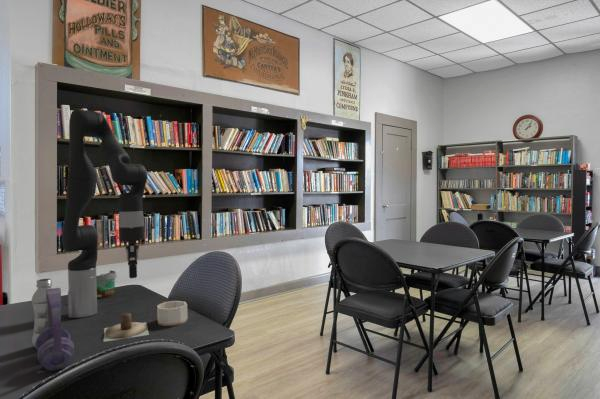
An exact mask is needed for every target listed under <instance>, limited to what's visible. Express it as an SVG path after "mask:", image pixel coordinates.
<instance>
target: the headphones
mask: <svg viewBox="0 0 600 399" xmlns="http://www.w3.org/2000/svg"><path fill="white" fill-rule="evenodd" d="M46 295H47V304H48V329H46V330H44V331H43V332H42V333H41V334H40V335H39V336H38V338H37V340H36V348H35V349H36V351H37V355H36V356H37V359H38V362H39V364H40V365H41V366H42V367H43V368H44V369H45V370H48V371H59V370H61V369H63V368H65V367H67V366H68V365H69V364H70V362H71V361H72V357H73V356H74V353H75V344H74V342H73V341H72V340H71V336H70V333H69V331H68V330H66V329H65V328H63V327H61V326H62V325H61V324H62V289H61V288H60V287H55V288H52V289H46Z"/></svg>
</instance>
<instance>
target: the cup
mask: <svg viewBox="0 0 600 399" xmlns="http://www.w3.org/2000/svg"><path fill="white" fill-rule="evenodd" d="M156 310H157V311H156V314H157V316H156V317H157V324H158V325H159V326H163V327H170V326H171V327H173V326H178V325H181V324H184V323H186V322H188V319H189V317H188V304H187V302H186V301H181V300H171V301H164V302H161V303H159V304H157V305H156Z"/></svg>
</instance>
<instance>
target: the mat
mask: <svg viewBox="0 0 600 399" xmlns="http://www.w3.org/2000/svg"><path fill="white" fill-rule="evenodd" d="M143 323H144V324H145V325H146V330H145V331H144V332H143V333H141V334H139V335H136V336H132V337H127V338H110V337H107V336H106V330H107V329H108V328H109V327H104V328H103V330H104V331H103V342H104V343H105V342H112V341H113V342H114V341H118V340H124V339H132V338H138V337H144V336H149V335H150V333H149V330H148V329H149V328H148V324H147V322H143Z"/></svg>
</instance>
